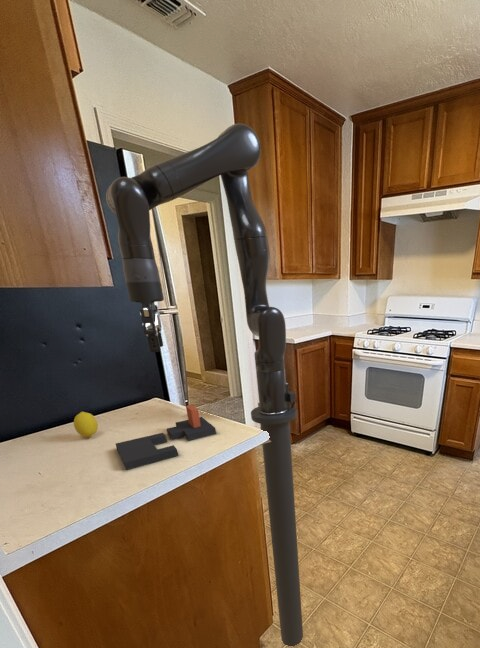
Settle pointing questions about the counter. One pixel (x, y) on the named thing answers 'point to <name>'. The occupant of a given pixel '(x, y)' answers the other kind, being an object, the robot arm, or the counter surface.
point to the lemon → (85, 424)
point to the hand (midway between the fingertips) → (157, 349)
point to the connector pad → (191, 426)
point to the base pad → (144, 451)
